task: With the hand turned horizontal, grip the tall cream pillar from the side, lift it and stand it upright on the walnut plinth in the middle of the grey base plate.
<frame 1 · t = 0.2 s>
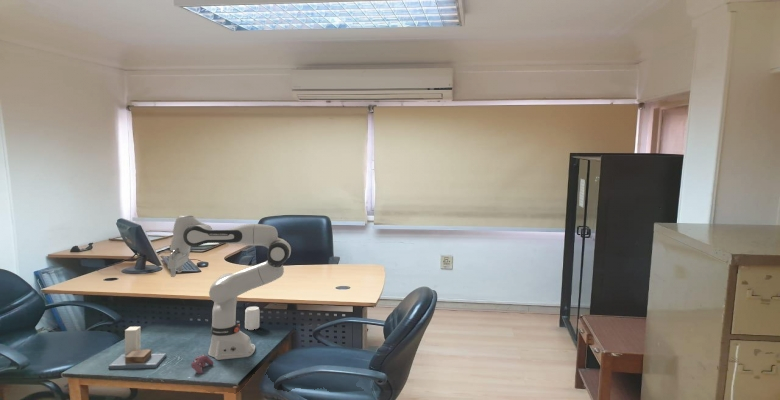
hand: (176, 274, 202), 40 cm above the table, tool pointing down, fingers open, 8 cm apart
cream pillar: (132, 351, 203), on the table
grey base plate: (138, 362, 192), on the table
video game controller: (202, 369, 189), on the table
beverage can: (252, 328, 240), on the table
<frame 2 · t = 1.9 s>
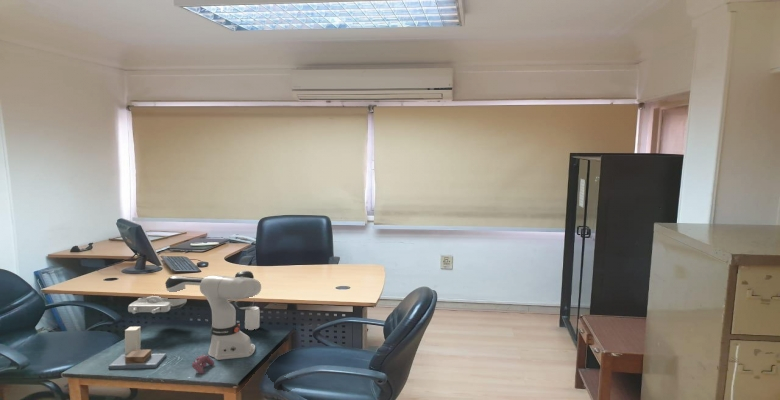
hand: (143, 312, 213), 16 cm above the table, tool horizontal, fingers open, 8 cm apart
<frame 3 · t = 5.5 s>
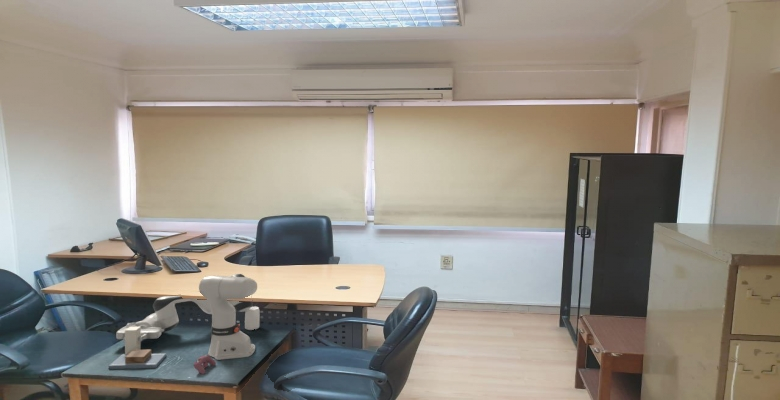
hand: (132, 339, 202), 7 cm above the table, tool horizontal, fingers closed on cream pillar, 5 cm apart
cream pillar: (132, 351, 203), on the table, touching gripper
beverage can: (252, 328, 240), on the table, touching arm
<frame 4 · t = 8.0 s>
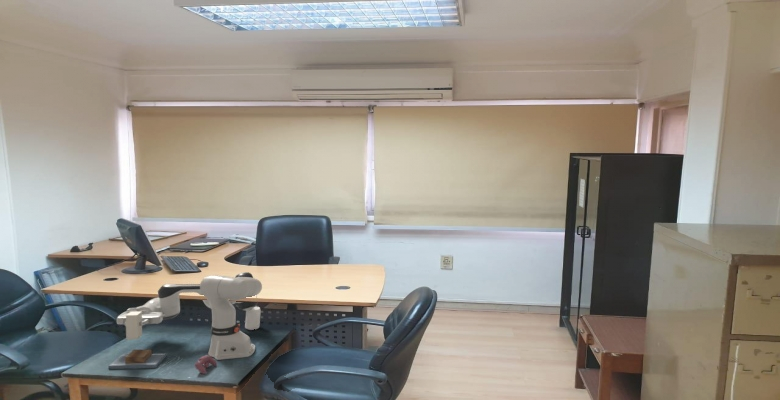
hand: (133, 324, 197), 16 cm above the table, tool horizontal, fingers closed on cream pillar, 5 cm apart
cream pillar: (134, 337, 198), point 10 cm above the table, touching gripper
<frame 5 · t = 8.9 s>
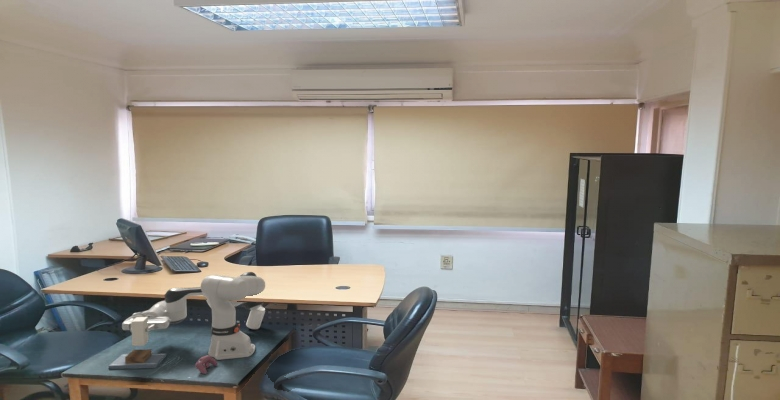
hand: (139, 330, 191), 15 cm above the table, tool horizontal, fingers closed on cream pillar, 5 cm apart
cream pillar: (140, 343, 193), point 9 cm above the table, touching gripper
when the fingers open (11 cm above the table, at t = 10.1 s): cream pillar stays where it is, resting on grey base plate.
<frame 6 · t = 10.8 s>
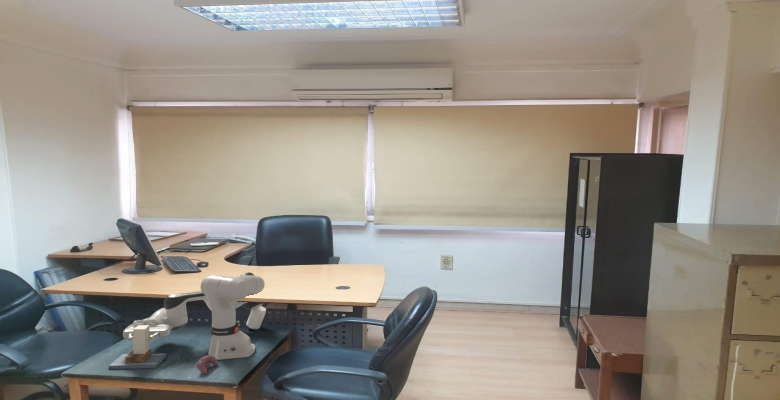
hand: (140, 339, 192), 11 cm above the table, tool horizontal, fingers open, 8 cm apart
cream pillar: (141, 351, 194), point 4 cm above the table, touching grey base plate
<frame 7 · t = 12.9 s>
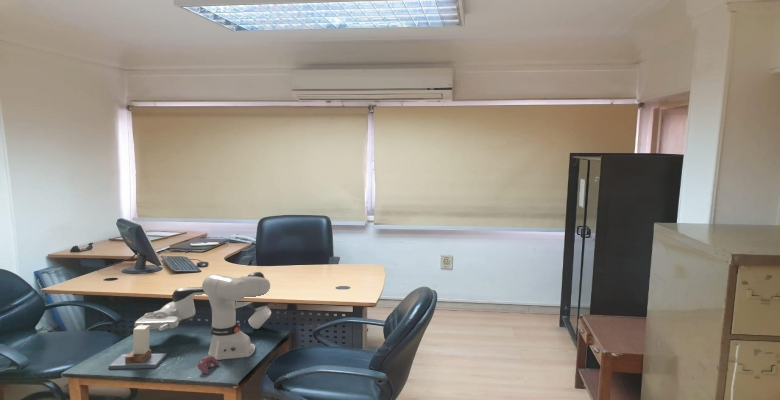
hand: (150, 329, 203), 11 cm above the table, tool horizontal, fingers open, 8 cm apart
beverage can: (253, 324, 240), point 2 cm above the table, touching arm
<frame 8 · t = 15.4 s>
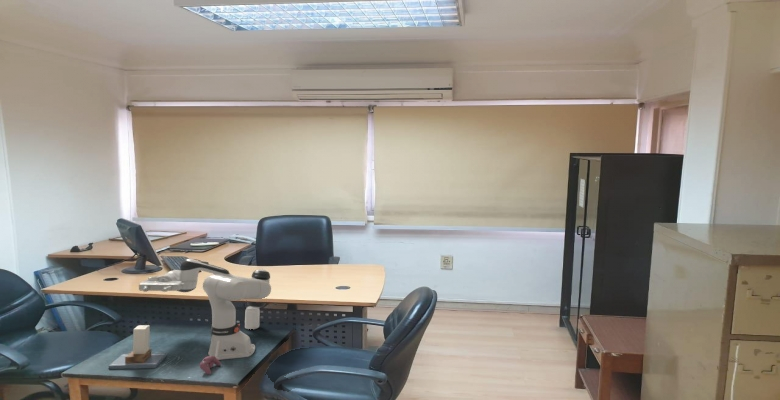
hand: (154, 290, 207), 30 cm above the table, tool horizontal, fingers open, 8 cm apart
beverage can: (252, 327, 241), on the table
at the end: cream pillar 1.7 cm off-centre on the grey base plate, point 4.5 cm above the grey base plate's base; cream pillar tilted 0°; the gripper is holding nothing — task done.
